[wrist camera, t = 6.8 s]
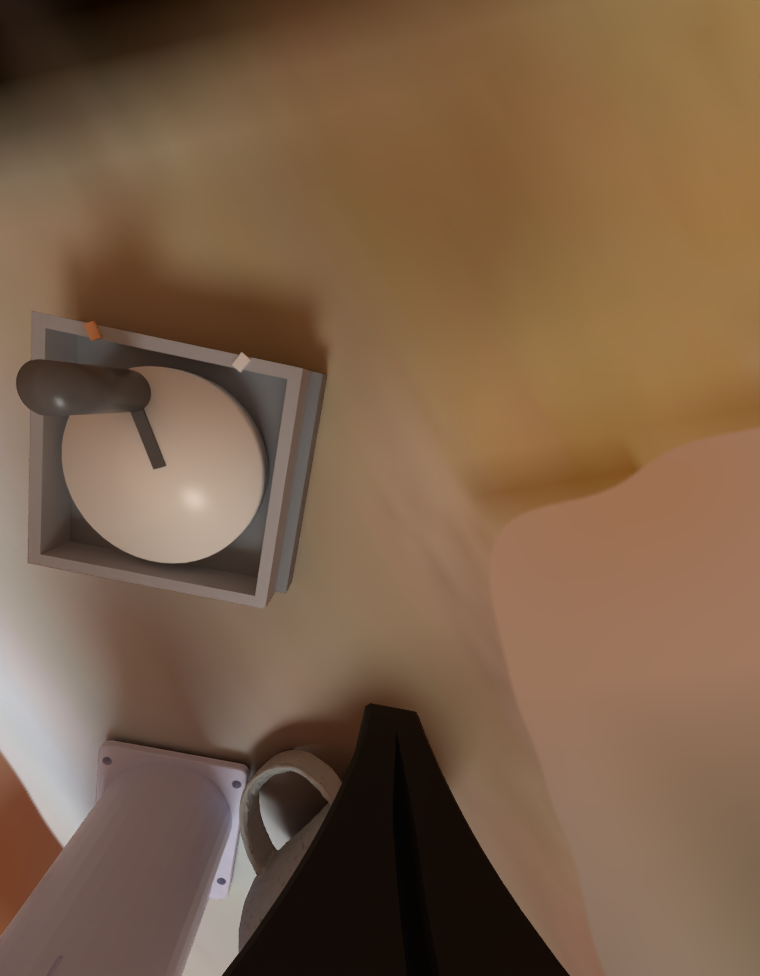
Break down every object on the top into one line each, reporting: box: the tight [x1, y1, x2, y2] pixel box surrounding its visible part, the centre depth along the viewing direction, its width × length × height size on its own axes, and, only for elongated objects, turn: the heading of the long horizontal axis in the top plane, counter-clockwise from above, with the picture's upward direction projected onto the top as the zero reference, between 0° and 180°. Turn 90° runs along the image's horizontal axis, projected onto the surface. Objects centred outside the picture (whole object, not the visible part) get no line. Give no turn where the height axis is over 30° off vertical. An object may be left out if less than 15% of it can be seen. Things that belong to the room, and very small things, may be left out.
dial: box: [16, 359, 268, 563], centre depth 15 cm, size 8×8×5 cm
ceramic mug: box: [239, 750, 342, 952], centre depth 19 cm, size 11×8×8 cm
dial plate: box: [28, 311, 327, 609], centre depth 17 cm, size 10×11×3 cm
